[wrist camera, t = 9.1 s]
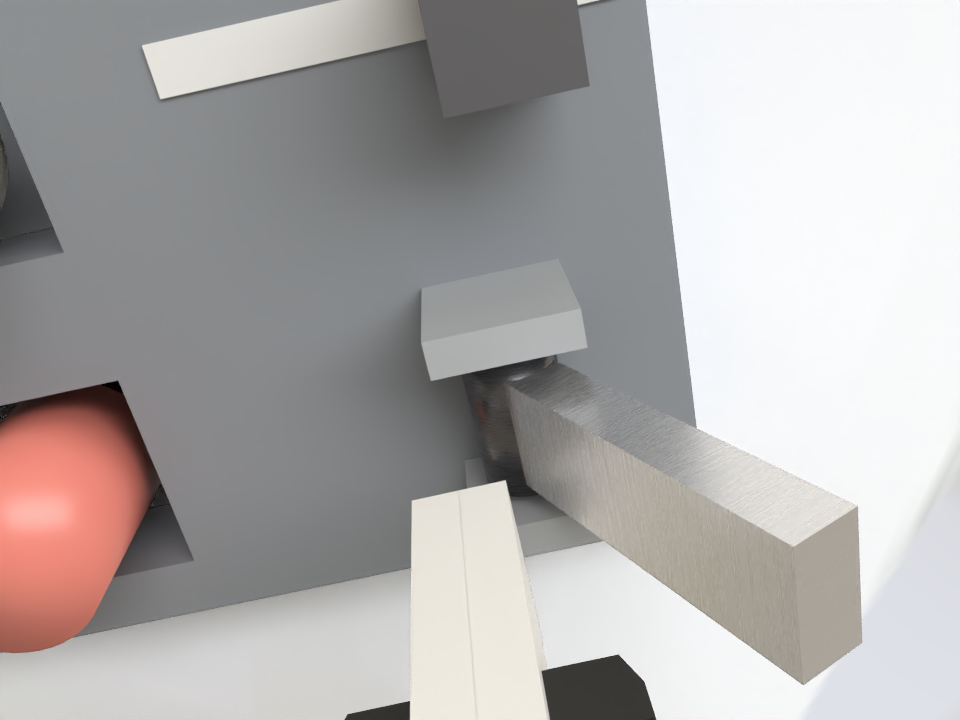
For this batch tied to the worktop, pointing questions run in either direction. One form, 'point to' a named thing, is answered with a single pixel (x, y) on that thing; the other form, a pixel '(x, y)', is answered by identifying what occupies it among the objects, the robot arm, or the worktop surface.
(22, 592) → the button red
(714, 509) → the lever
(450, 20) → the slider knob
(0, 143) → the button ivory
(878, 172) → the worktop surface
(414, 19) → the panel
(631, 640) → the worktop surface
